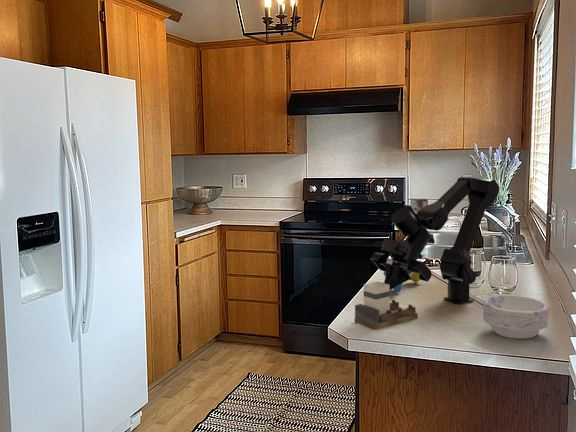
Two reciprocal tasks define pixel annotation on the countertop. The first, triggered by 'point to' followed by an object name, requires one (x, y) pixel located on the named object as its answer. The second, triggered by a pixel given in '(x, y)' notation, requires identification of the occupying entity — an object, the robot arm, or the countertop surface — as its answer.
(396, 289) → the grapes
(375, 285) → the white banded pillar
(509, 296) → the paper bowls
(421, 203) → the coffee box
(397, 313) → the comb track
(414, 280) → the lemon
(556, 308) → the countertop surface
